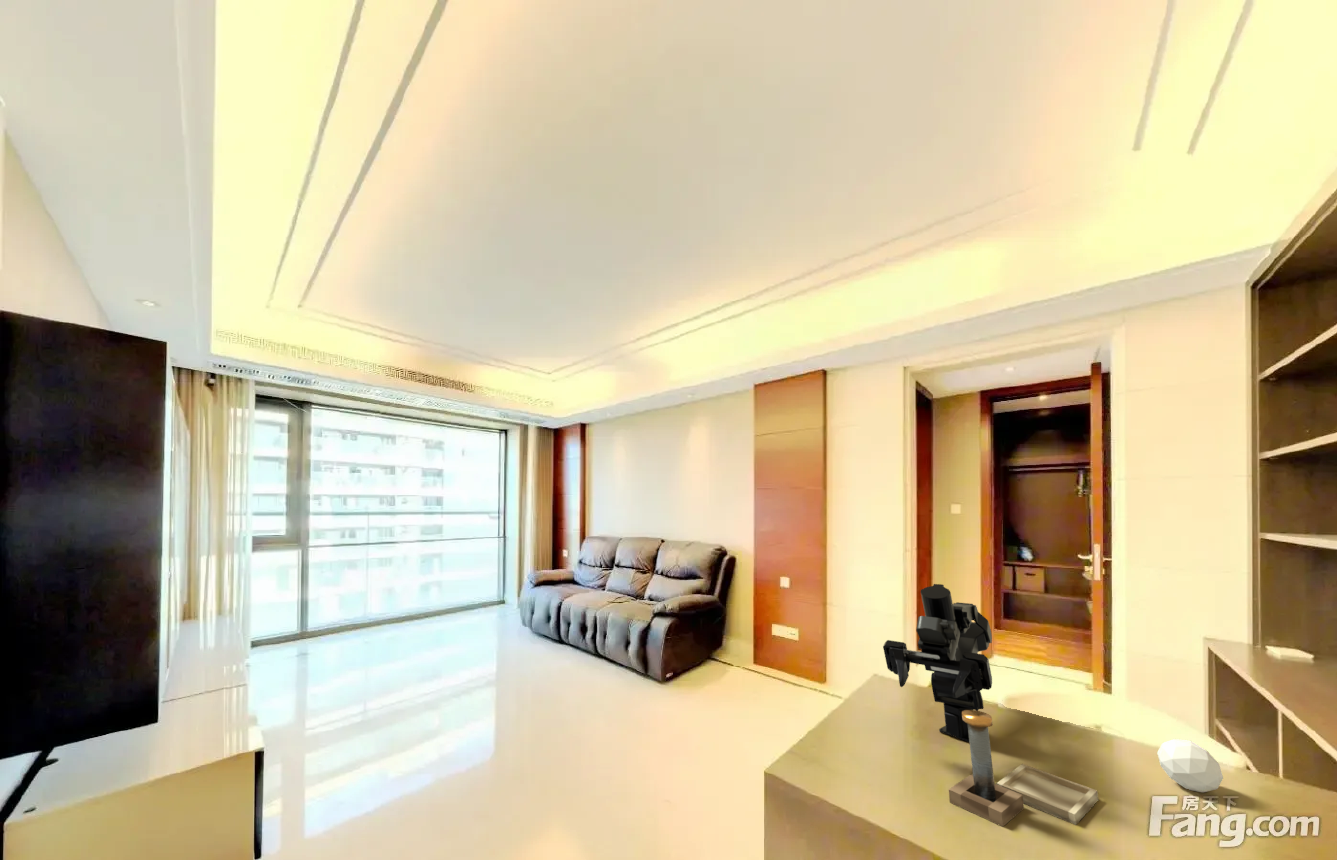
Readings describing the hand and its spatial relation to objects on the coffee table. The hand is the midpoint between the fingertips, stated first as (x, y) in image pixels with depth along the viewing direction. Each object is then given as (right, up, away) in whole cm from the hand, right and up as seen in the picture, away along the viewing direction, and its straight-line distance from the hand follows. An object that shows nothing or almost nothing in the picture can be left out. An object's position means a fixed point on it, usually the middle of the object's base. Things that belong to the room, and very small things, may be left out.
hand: (926, 690), depth 92 cm
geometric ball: (+43, -14, -6) cm, 46 cm away
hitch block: (+5, -14, -10) cm, 18 cm away
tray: (+17, -14, -8) cm, 23 cm away
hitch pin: (+5, -14, -10) cm, 18 cm away
